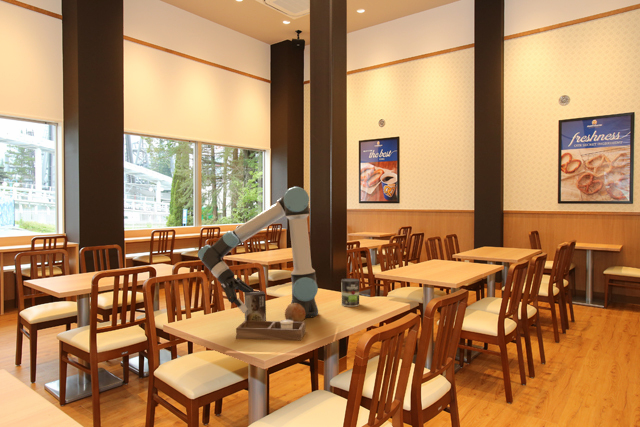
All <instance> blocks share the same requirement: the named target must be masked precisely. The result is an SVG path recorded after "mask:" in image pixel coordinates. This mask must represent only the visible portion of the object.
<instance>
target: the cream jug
mask: <svg viewBox="0 0 640 427" xmlns="http://www.w3.org/2000/svg"><path fill="white" fill-rule="evenodd" d="M280 324H281V329H293V320H286V319H282V320H280Z"/></svg>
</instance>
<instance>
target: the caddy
mask: <svg viewBox="0 0 640 427" xmlns="http://www.w3.org/2000/svg"><path fill="white" fill-rule="evenodd" d="M280 321H281V320H280ZM280 321H278V320H266V321H245V320H244V321H243V322H241V323H240V324H239V325H238V326H237V327H236V328H235V329H236V330H235V332H236V334H235V335H236V336H235V338H236V339H237V340H238V339H239V340H240V339H242V340H266V341H267V340H271V341H273V340H274V341H300V342H301V341H302V339H303V337H304V335H305V334H306V321H303V322H293V329H281V324H280Z"/></svg>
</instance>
